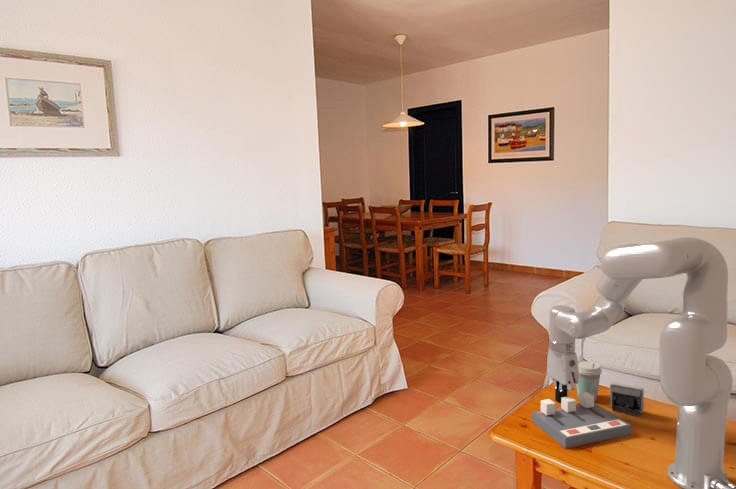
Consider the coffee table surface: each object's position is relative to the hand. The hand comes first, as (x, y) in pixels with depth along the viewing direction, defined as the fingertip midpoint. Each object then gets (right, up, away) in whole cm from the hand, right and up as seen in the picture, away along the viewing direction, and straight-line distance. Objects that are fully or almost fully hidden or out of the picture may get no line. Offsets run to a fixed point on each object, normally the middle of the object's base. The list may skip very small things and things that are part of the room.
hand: (561, 401), depth 151 cm
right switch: (+8, -1, -1) cm, 8 cm away
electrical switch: (+21, -4, 0) cm, 21 cm away
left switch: (-6, -2, -4) cm, 8 cm away
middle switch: (+1, -2, -3) cm, 4 cm away
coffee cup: (+13, -3, +11) cm, 17 cm away
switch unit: (+2, -5, -8) cm, 10 cm away
